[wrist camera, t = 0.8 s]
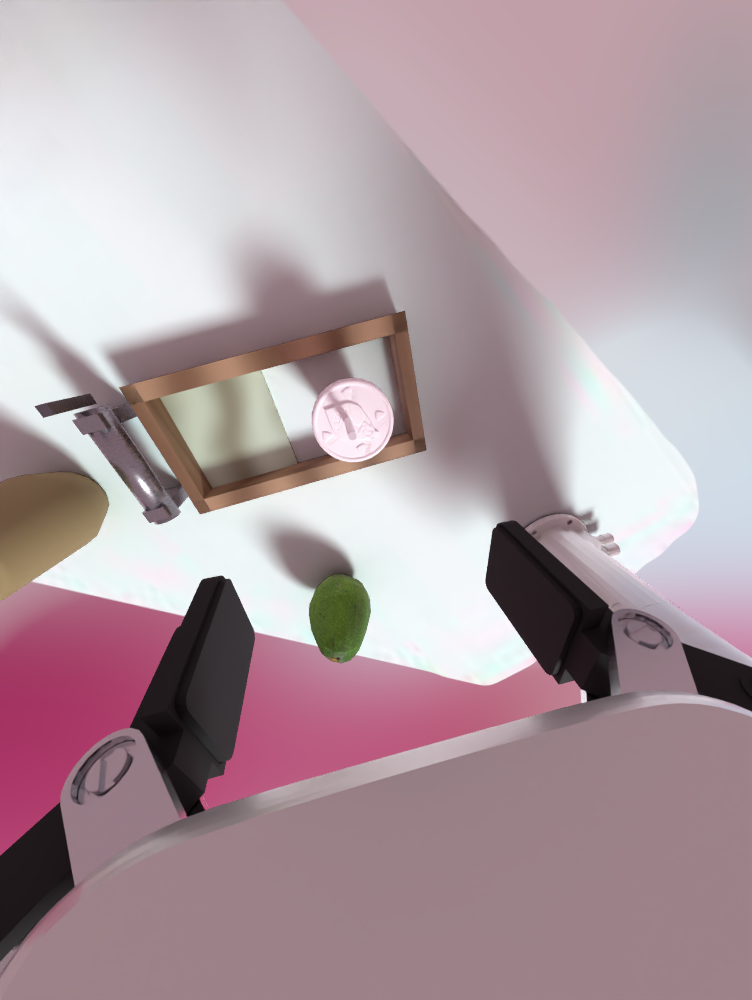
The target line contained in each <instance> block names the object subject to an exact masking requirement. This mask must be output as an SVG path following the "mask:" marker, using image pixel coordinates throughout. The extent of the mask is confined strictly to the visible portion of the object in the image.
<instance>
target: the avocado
mask: <svg viewBox="0 0 752 1000" xmlns="http://www.w3.org/2000/svg"><path fill="white" fill-rule="evenodd" d="M370 613H371V609H370V599H369V596H368V593H367V591H366V590H365V588H364V586H363V584H362V583H361V582H360V581H359V580H357V579H355V578H353V577H351V576H347V575H344V574H336V575H331V576H329V577H328V578H326V579H325V580H324V581H323V582H321V583H320V585H319V586H318V587H317V588H316V591H315V593H314V595H313V598H312V600H311V602H310V607H309V617H310V624H311V630H312V632H313V635H314V638H315V640H316V642H317V645H318V647H319V649H320V651H321V653H322V654H323V655H324V656H325V657H326V658H328V659H329V660H331V661H333V662H338V663H344V662H347V661H349V660H351V659H352V658H353V657H354V656H355V655H356V653H357V652H358V651H359V649H360V646H361V644H362V641H363V639H364V636H365V633H366V630H367V626H368V622H369V617H370Z"/></svg>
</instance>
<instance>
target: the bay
mask: <svg viewBox="0 0 752 1000" xmlns="http://www.w3.org/2000/svg"><path fill="white" fill-rule="evenodd" d="M385 336H389V341H390V347H391V352H392V358H393V363H394V368H395V374H396V379H397V385H398V390H399V396H400V401H401V406H402V412H403V417H404V423H405V428H406V433H403V434H399V435H396V436H392V437H390V439H389V441H388V443H387V444H386V446H385V447H384V448H383V449H382V450H381V451H380V452H379V453H378V454H376V455H375V456H373V457H372V458H370V459H367V460H364V461H360V462H346V461H342V460H339V459H336V458H334V457H332V456H331V455H329V454H328V455H325V456H321V457H318V458H314V459H311V460H307V461H303V462H300V463H298V462H297V459H296V457H295V454H294V452H293V449H292V447H291V444H290V442H289V439H288V437H287V434H286V432H285V429H284V427H283V424H282V422H281V419H280V416H279V414H278V411H277V409H276V406H275V404H274V401H273V399H272V396H271V394H270V391H269V389H268V386H267V384H266V381H265V379H264V376H263V374H262V371H261V370H263V369H267V368H271V367H274V366H278V365H282V364H286V363H289V362H293V361H297V360H300V359H304V358H308V357H311V356H315V355H319V354H322V353H326V352H330V351H334V350H337V349H341V348H345V347H348V346H352V345H356V344H359V343H363V342H367V341H370V340H374V339H378V338H382V337H385ZM119 388H120V390H121V391H122V393H123V395H124V396H125V398H126V399H127V401H128V402H129V404H130V406H131V407H132V409H133V410H134V412H135V413H136V415H137V416H138V418H139V420H140V421H141V423H142V424H143V426H144V427H145V429H146V431H147V432H148V434H149V435H150V437H151V438H152V440H153V441H154V443H155V445H156V446H157V448H158V449H159V451H160V452H161V454H162V456H163V457H164V459H165V460H166V462H167V463H168V465H169V467H170V468H171V470H172V471H173V473H174V474H175V476H176V477H177V479H178V481H179V482H180V484H181V485H182V487H183V488H184V490H185V492H186V493H187V495H188V496H189V498H190V499H191V501H192V502H193V504H194V506H195V507H196V509H197V510H198V512H199V513H200V514H203V513H207V512H210V511H214V510H217V509H221V508H224V507H228V506H231V505H235V504H238V503H242V502H245V501H249V500H252V499H256V498H259V497H263V496H267V495H270V494H274V493H277V492H281V491H284V490H288V489H291V488H295V487H298V486H302V485H305V484H309V483H312V482H316V481H319V480H323V479H326V478H330V477H333V476H337V475H341V474H344V473H348V472H351V471H355V470H358V469H362V468H365V467H369V466H372V465H376V464H379V463H383V462H386V461H390V460H393V459H397V458H400V457H404V456H407V455H411V454H415V453H418V452H422V451H425V450H426V445H425V438H424V432H423V425H422V419H421V412H420V406H419V399H418V393H417V386H416V380H415V373H414V367H413V360H412V354H411V347H410V341H409V334H408V328H407V321H406V315H405V311H402V312H399V313H395V314H391V315H387V316H384V317H380V318H376V319H372V320H369V321H365V322H361V323H358V324H354V325H350V326H346V327H343V328H339V329H335V330H331V331H328V332H324V333H320V334H317V335H313V336H309V337H305V338H302V339H298V340H294V341H291V342H287V343H283V344H279V345H276V346H272V347H268V348H264V349H261V350H257V351H253V352H250V353H246V354H242V355H238V356H235V357H231V358H227V359H223V360H220V361H216V362H212V363H209V364H205V365H201V366H197V367H194V368H190V369H186V370H183V371H179V372H175V373H171V374H168V375H164V376H160V377H156V378H153V379H149V380H145V381H142V382H138V383H134V384H130V385H127V386H123V387H119Z"/></svg>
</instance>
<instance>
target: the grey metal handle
mask: <svg viewBox="0 0 752 1000" xmlns="http://www.w3.org/2000/svg"><path fill="white" fill-rule="evenodd" d="M93 404H97V403H96V402H95V400H94V399H93V397H92V396H91V394H86V395H82V396H77V397H72V398H68V399H63V400H59V401H54V402H49V403H45V404H41V405H37V406H35V408H36V409H37V410H38V411H39V413H40V414H41V415H42V416H43V418H44V417H48V416H52V415H55V414H59V413H63V412H67V411H71V410H74V409H78V408H82V407H86V406H89V405H93ZM74 416H75V417H76V418H77V419H75V420H72V421H73V422H74V424H75V425H76V426H77V428H78V429H79V430H80V432H81V433H82V434H83V435H84V434H89V436H90V437H91V438H92V440H93V441H94V442H95V444H96V445H97V446H98V448H99V449H100V450H101V452H102V453H103V455H104V456H105V457H106V459H107V460H108V461H109V463H110V464H111V465H112V467H113V468H114V469H115V471H116V472H117V473H118V475H119V476H120V477H121V479H122V480H123V481H124V483H125V484H126V485H127V487H128V488H129V489H130V491H131V492H132V493H133V495H134V496H135V497H136V499H137V500H138V501H139V503H140V504H141V505H142V507H143V508H144V509H145V511H144V512H143V515H144V516H145V517H146V519H147V520H148V521H149V523H152V522H154V523H155V524H162V523H165V522H168V521H170V520H172V519H174V518H175V517H177V516H178V515H179V514H180V512H181V511H180V510H179V506H180V505H181V504H182V503H183V502H184V501H185V500H186V498H187V497H188V495H187V493H186V492H185V490H184V488H183V487H182V486H179V487H175V488H172V489H168V490H166V489H165V488H164V486H163V485H162V483H161V482H160V480H159V479H158V477H157V476H156V474H155V473H154V471H153V470H152V468H151V467H150V466H149V464H148V463H147V461H146V460H145V458H144V457H143V455H142V454H141V452H140V451H139V449H138V448H137V446H136V445H135V443H134V442H133V440H132V439H131V437H130V436H129V434H128V433H127V431H126V430H125V429H124V427H123V426H122V424H121V423H122V422H124V421H127V420H129V419H132V418H134V417H137V415H136V413H135V412H134V410H133V409H132V407H131V406H130V404H126V405H122V406H119V407H115V408H110V406H109V405H105V406H101V407H97V408H94V409H90V410H86V411H83V412H79V413H76V414H74Z"/></svg>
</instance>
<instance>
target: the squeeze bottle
mask: <svg viewBox="0 0 752 1000" xmlns="http://www.w3.org/2000/svg"><path fill="white" fill-rule="evenodd" d="M108 507H109V502H108V498H107V495H106V493H105V492H104V491H103V490H102V488H101V487H100V486H99V485H98V484H96V483H95V482H94V481H92V480H91V479H89V478H88V477H85V476H82V475H79V474H76V473H71V472H51V473H40V474H28V475H22V476H18V477H14V478H10V479H7V480H4V481H3V482H1V483H0V600H4V599H5V598H7V597H8V596H10V595H11V594H13V593H14V592H16V591H17V590H19V589H20V588H22V587H23V586H25V585H26V584H28V583H29V582H31V581H32V580H34V579H35V578H37V577H38V576H40V575H41V574H43V573H44V572H46V571H47V570H49V569H50V568H52V567H53V566H55V565H56V564H58V563H59V562H61V561H62V560H64V559H65V558H67V557H68V556H70V555H71V554H73V553H74V552H76V551H77V550H79V549H80V548H82V547H83V546H85V545H86V544H87V543H89V542H90V541H91V540H92V539H93V538H95V537H96V536H97V534H98V532H99V530H100V527H101V525H102V523H103V520H104V518H105V516H106V513H107V510H108Z"/></svg>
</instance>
